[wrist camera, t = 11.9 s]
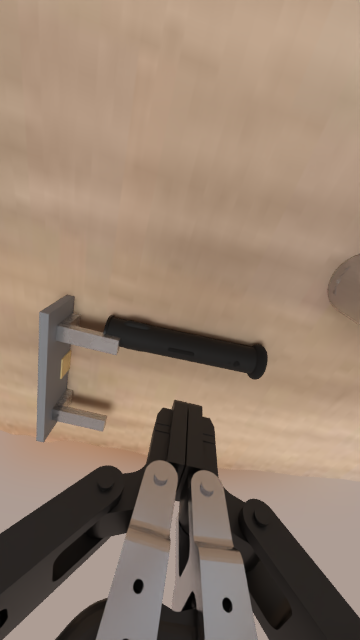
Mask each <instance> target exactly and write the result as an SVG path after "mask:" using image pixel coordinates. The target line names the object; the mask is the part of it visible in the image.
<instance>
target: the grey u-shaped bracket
mask: <svg viewBox="0 0 360 640" xmlns="http://www.w3.org/2000/svg"><path fill="white" fill-rule="evenodd" d="M80 315H81V314H78V313H74V312H73V313H72V314H71V315H69V316H68V317H67V318H66V319H64V320H63V321H62V322H61V323H59V324H58V325H57V332H56V341H60V342H64V343H68V344H72V345H76V346H80V347H85V348H89V349H93V350H97V351H101V352H105V353H109V354H113V355H117V353H118V351H119V346H120V339H121V338H120V337H116V336H112V335H108V334H103V332H99V331H95V330H91V329H86V328H82V327H79V325H80ZM72 396H73V390H69V389H66V391H65V392H64V393H63V395H62V396H61V398H60V399H59V400H58V402H57V403H56V404H55V406H54V407H53V409H52V420H54V421H59V422H63V423H68V424H72V425H76V426H81V427H85V428H90V429H94V430H98V431H103V430H104V428H105V425H106V419H107V416H106V415H101V414H97V413H93V412H88V411H84V410H80V409H75V408H71V407H68V406H69V405H70V403H71V402H72Z"/></svg>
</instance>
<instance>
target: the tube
mask: <svg viewBox="0 0 360 640" xmlns="http://www.w3.org/2000/svg"><path fill="white" fill-rule="evenodd" d="M103 334H108V335H112V336H116V337H120V338H121V339H120V347H124V348H127V349H132V350H137V351H144V352H148V353H153V354H158V355H163V356H168V357H172V358H177V359H182V360H187V361H191V362H196V363H201V364H206V365H210V366H215V367H220V368H225V369H229V370H234V371H239V372H244V373H247V374H248V376H249V377H250V378H252V379H259V378H260V377H261V376H262V375H263V374H264V372H265V369H266V366H267V351H266V349H265V348H264V347H263V346H262V345H259V344H257V345H254V346H253V347H249V346H244V345H239V344H235V343H230V342H225V341H221V340H216V339H211V338H207V337H202V336H197V335H193V334H188V333H183V332H179V331H174V330H169V329H165V328H160V327H155V326H151V325H147V324H144V323H139V322H134V321H127V320H122V319H118V318H115V316H113V315H111V316H109V318H108V320H107V322H106V325H105V328H104V332H103Z"/></svg>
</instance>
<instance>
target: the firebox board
mask: <svg viewBox="0 0 360 640" xmlns="http://www.w3.org/2000/svg"><path fill="white" fill-rule="evenodd" d="M73 309H74V296H70V295H66V296H64V297H63V298H61V299H59V300H58V301H56V302H55V303H53V304H51V305H50V306H48V307H47V308H45V309H44V310H42V311H40V315H39V356H38V397H37V438H36V440H37V441H40V442H44V441H45V439H46V438H47V436H48V435H49V433H50V432H51V430H52V429H53V427H54V426H55V424H56V423H57V421H54V420H52V409H53V407H54V406H55V404H56V403H57V402H58V400H59V399H60V398H61V396H62V395H63V393H64V392H65V391H66V389H67V380H68V370H69V369H70V358H71V350H70V344H68V343H64V342H60V341H56V332H57V325H58V324H59V323H61V322H62V321H63V320H64V319H66V318H67V317H68V316H69V315H71V314H72V313H73Z"/></svg>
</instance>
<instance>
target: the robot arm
mask: <svg viewBox="0 0 360 640" xmlns="http://www.w3.org/2000/svg"><path fill="white" fill-rule="evenodd" d="M328 297H329V300H330V302H331V304H332V306H333V307H334V308H336V309H337V310H338V311H340V312H341V313H343V314H344V315H346V316H347V317H349V318H350V319H351V320H353V321H354V322H356V323H357V324H359V325H360V254H359V255H356V256H353V257H351V258H350V259H348V260H346V261H345V262H344V263H342V264H341V265H340V266H339V267H338V268H337V269H336V271H335V272H334V274H333V275H332V277H331V279H330V282H329V285H328ZM175 501H180V506H179V513H178V516H177V519H176V576H175V588H174V593H173V601H172V609H170V608H168V607H167V606H165V605H163V604H162V599H163V592H164V586H165V578H166V572H167V564H168V557H169V550H170V528H171V521H172V515H173V509H174V502H175ZM124 533H127V534H126V537H125V541H124V544H123V548H122V551H121V555H120V558H119V562H118V565H117V569H116V572H115V575H114V579H113V582H112V585H111V589H110V592H109V596H108V598H105V599H103V600H100V601H97V602H96V603H94V604H92V605H90V606H89V607H87V608H86V609H84V610H83V611H82V612H81V613H79V614H78V615H77V616H76V617H75V618H74V619H73V620H72V621H71V622H70V623H69V624H68V625H67V627H66V628H65V629H64V630H63V631H62V632H61V633H60V635H59V636H58V637H57V638H56V639H55V640H258V639H257V634H256V629H255V623H254V618H253V613H254V615H255V616H256V618H257V620H258V621H259V623H260V625H261V627H262V628H263V630H264V632H265V633H266V635H267V637H268V639H269V640H360V618H359V617H358V615H357V614H356V613H355V612H354V610H353V609H352V608H351V607H350V606H349V604H348V603H347V602H346V601H345V599H344V598H343V597H342V596H341V595H340V593H339V592H338V591H337V590H336V588H335V587H334V586H333V585H332V583H331V582H330V581H329V580H328V578H326V576H325V575H324V574H323V572H322V571H321V570H320V569H319V567H318V566H317V565H316V564H315V563H314V561H313V560H312V559H311V558H310V556H309V555H308V554H307V553H306V552H305V550H304V549H303V548H302V546H300V544H299V543H298V542H297V540H296V539H295V538H294V537H293V536H292V534H291V533H290V532H289V530H288V529H287V528H286V527H285V526H284V524H283V523H282V522H281V521H280V519H279V518H278V517H277V516H276V515H275V513H274V512H273V511H272V510H271V508H270V507H269V506H268V505H266V504H265V503H264V502H262V501H260V500H257V499H250V500H248V501H246V502H243V501H242V500H240V499H238V498H236V497H235V496H233V495H232V494H230V493H229V492H228V491H227V490H226V489H225V488H224V487H223V485H222V483H221V481H220V479H219V477H218V469H217V456H216V445H215V431H214V426H213V424H212V422H211V420H210V418H206V417H202V406H199V405H195V404H191V403H186V402H182V401H178V400H174V403H173V406H172V410H171V409H167V408H162V409H161V411H160V412H159V413H158V415H157V419H156V422H155V426H154V430H153V434H152V438H151V443H150V448H149V453H148V458H147V462H146V465H145V466H144V467H143V468H142V469H140V470H138V471H136V472H133V473H125V474H122V473H121V471H120V470H119V469H117V468H115V467H113V466H102V467H99V468H97V469H96V470H94V471H93V472H91V473H90V474H88V475H87V476H85V477H84V478H82V479H81V480H79V481H78V482H77V483H75V484H74V485H72V486H70V487H69V488H67V489H66V490H65V491H63V492H61V493H60V494H58V495H57V496H56V497H54V498H53V499H51V500H50V501H48V502H47V503H45V504H44V505H42V506H41V507H40V508H38V509H36V510H35V511H33V512H32V513H30V514H29V515H27V516H26V517H24V518H23V519H22V520H20V521H19V522H17V523H15V524H14V525H13V526H11V527H10V528H9V529H7V530H5V531H4V532H2V533H1V534H0V640H2V639H4V638H5V636H7V635H8V634H9V633H10V632H11V631H12V630H13V629H14V628H15V627H16V626H17V625H18V624H19V623H20V622H21V621H23V620H24V619H25V618H26V617H27V616H28V615H29V614H30V613H31V612H32V611H33V610H34V609H35V608H36V607H37V606H38V605H39V604H40V603H41V602H43V600H44V599H46V598H47V597H48V596H49V595H50V594H51V593H52V592H53V591H54V590H55V589H56V588H57V587H58V586H59V585H61V584H62V582H64V581H65V580H66V579H67V578H68V577H69V576H70V575H71V574H72V573H73V572H74V571H75V570H76V569H77V568H78V567H80V566H81V565H82V564H83V563H84V562H85V561H86V560H87V559H88V558H89V557H90V556H91V555H92V554H93V553H94V552H95V551H96V550H97V549H98V548H100V546H102V545H103V544H104V543H105V542H106V541H107V540H108V539H109V538H110V537H111V536H114V535H119V534H124ZM252 611H253V612H252Z"/></svg>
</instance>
